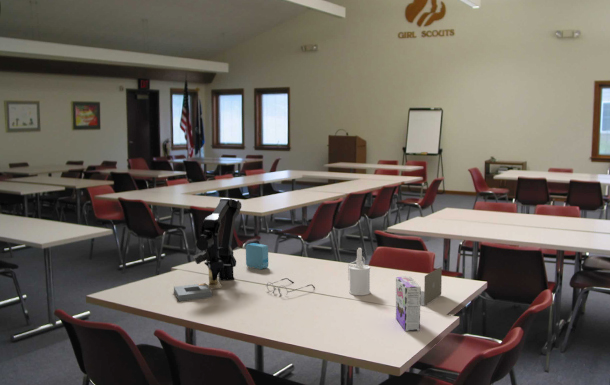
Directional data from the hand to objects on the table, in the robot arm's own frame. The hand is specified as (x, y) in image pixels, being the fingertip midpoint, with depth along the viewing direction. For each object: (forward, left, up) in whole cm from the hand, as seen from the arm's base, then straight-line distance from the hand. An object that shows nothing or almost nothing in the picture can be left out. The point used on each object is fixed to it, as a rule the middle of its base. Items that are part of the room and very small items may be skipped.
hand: (213, 279), depth 259 cm
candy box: (-55, +77, -4) cm, 95 cm away
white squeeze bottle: (-57, +34, -4) cm, 67 cm away
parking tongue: (0, 0, -4) cm, 4 cm away
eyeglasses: (-31, +18, -4) cm, 36 cm away
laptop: (-77, +52, -4) cm, 93 cm away
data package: (-29, -27, -4) cm, 40 cm away
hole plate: (+11, +8, -4) cm, 14 cm away
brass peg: (0, 0, -2) cm, 2 cm away
